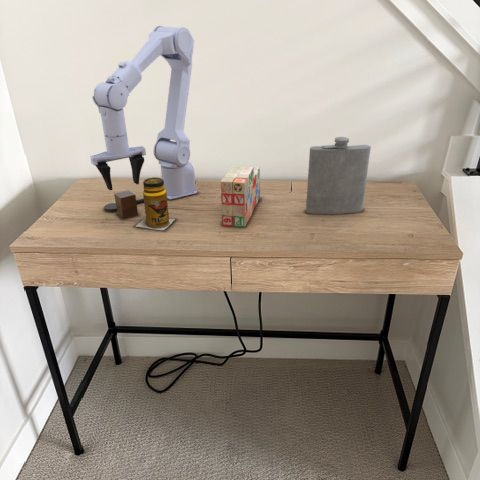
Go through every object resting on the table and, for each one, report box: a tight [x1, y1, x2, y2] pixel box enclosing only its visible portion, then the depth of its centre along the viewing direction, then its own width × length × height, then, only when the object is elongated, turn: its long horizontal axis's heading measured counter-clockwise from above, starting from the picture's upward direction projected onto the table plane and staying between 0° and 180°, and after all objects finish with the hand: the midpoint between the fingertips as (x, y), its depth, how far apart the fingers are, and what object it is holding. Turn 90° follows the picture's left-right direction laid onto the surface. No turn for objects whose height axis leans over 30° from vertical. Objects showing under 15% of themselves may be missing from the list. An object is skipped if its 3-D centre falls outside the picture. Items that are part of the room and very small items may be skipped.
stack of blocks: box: [220, 165, 261, 228], centre depth 139 cm, size 21×6×12 cm, turn 167°
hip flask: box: [305, 136, 372, 215], centre depth 136 cm, size 16×4×20 cm, turn 94°
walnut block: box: [113, 189, 139, 220], centre depth 140 cm, size 4×4×6 cm
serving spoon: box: [103, 197, 144, 213], centre depth 147 cm, size 16×5×1 cm, turn 124°
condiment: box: [134, 177, 176, 231], centre depth 133 cm, size 7×8×12 cm
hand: (123, 186), depth 137 cm, fingers open, 7 cm apart
